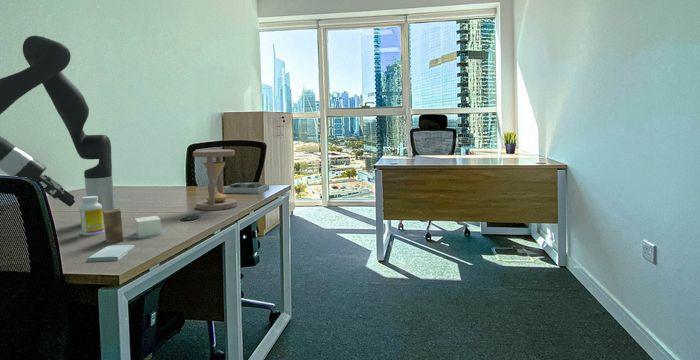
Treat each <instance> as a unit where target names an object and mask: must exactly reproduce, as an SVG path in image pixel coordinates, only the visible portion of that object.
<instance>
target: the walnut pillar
mask: <svg viewBox="0 0 700 360" xmlns="http://www.w3.org/2000/svg"><path fill="white" fill-rule="evenodd" d="M103 213H104V233H105V241H106V244H112V243H119V242H123V241H124V237H123V236H124V235H123V223H122V210H121V209H119V208H115V209H114V210H105V211H103Z"/></svg>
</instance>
